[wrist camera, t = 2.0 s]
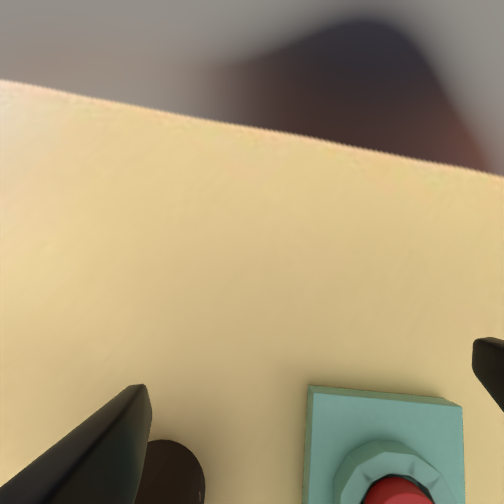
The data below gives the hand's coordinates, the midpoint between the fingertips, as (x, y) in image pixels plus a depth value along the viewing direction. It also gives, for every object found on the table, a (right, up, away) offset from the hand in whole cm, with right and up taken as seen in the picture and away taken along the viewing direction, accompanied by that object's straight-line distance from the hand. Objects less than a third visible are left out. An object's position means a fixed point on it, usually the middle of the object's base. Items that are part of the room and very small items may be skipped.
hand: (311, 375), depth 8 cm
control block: (+7, -13, +14) cm, 20 cm away
